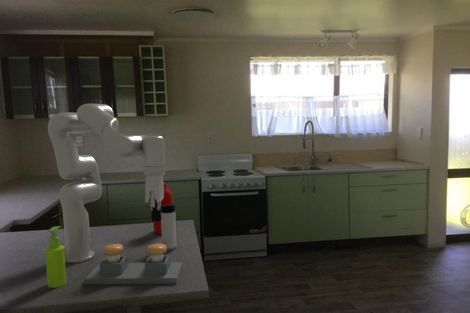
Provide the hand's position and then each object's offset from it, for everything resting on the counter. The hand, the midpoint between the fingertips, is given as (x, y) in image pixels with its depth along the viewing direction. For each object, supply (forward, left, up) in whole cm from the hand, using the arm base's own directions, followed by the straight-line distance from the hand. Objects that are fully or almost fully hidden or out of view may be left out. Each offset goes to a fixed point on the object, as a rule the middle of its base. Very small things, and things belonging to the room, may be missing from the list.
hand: (156, 220), depth 132 cm
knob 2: (0, 0, -15) cm, 16 cm away
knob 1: (-16, 0, -16) cm, 22 cm away
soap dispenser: (-34, -6, -21) cm, 40 cm away
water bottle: (-9, +52, -21) cm, 57 cm away
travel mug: (-1, +28, -21) cm, 35 cm away
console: (-8, 0, -21) cm, 22 cm away
